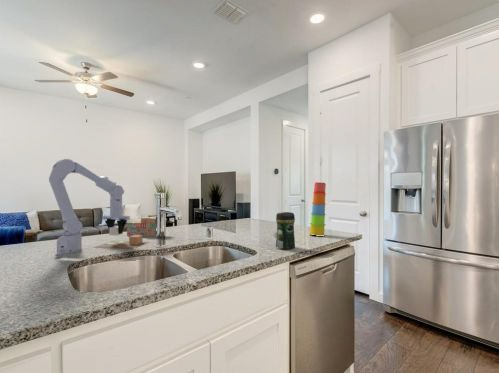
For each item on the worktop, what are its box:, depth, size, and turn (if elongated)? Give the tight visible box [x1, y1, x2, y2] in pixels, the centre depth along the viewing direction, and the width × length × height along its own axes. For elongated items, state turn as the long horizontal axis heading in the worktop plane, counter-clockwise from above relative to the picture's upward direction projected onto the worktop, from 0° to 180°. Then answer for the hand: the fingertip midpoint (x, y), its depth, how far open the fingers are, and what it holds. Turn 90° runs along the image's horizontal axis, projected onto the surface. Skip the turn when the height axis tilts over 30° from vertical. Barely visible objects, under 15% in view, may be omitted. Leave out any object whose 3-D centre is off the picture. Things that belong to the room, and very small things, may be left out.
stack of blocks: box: [126, 216, 157, 237], centre depth 157 cm, size 21×6×12 cm, turn 84°
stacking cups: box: [309, 181, 327, 235], centre depth 165 cm, size 10×10×35 cm
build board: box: [94, 240, 150, 250], centre depth 131 cm, size 15×21×1 cm
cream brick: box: [108, 225, 124, 236], centre depth 135 cm, size 5×5×4 cm
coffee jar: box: [275, 211, 296, 250], centre depth 132 cm, size 10×8×19 cm
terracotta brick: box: [128, 235, 143, 245], centre depth 135 cm, size 5×5×4 cm
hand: (116, 233), depth 135 cm, fingers closed on cream brick, 5 cm apart
